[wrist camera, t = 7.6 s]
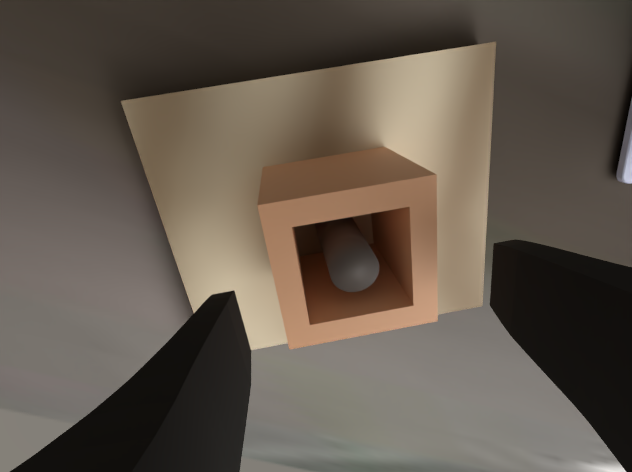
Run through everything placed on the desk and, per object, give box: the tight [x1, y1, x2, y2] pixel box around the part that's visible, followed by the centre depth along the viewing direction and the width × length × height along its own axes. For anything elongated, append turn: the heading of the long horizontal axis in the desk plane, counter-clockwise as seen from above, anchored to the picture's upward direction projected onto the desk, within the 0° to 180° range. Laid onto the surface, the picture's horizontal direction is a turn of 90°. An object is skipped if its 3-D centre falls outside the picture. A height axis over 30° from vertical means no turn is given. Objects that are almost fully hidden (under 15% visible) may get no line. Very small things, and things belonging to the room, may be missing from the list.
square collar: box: [257, 147, 438, 349], centre depth 13 cm, size 5×5×5 cm
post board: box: [121, 42, 496, 350], centre depth 14 cm, size 14×12×6 cm
